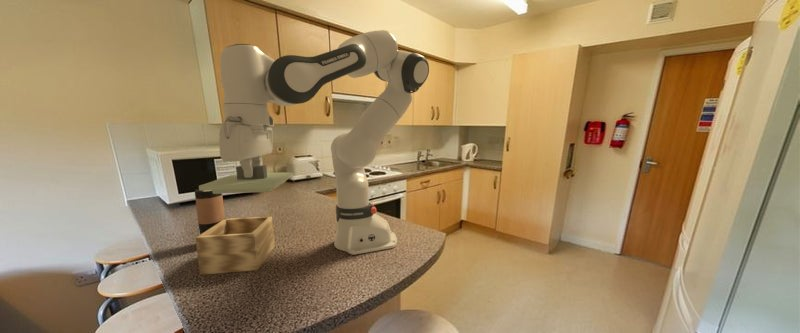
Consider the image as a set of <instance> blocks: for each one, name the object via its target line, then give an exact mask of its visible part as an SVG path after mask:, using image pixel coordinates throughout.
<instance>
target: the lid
mask: <svg viewBox="0 0 800 333" xmlns="http://www.w3.org/2000/svg"><path fill="white" fill-rule="evenodd" d="M252 168H253V169H254V173H255V175H254V176H253V177H251V178H246V177H244V171H243V169H242V167H241V165H238V166H235V170H236V173H232V174H230V175H227V176H224V177H221V178H219V179H215V180H212V181H210V182H207V183H204V184H200V185H198V189H199V191H201V190H212V192H213V194H222V195H223V194H242V193H243V194H246V193H269V192H272V191H274V190H275V189H277V188H278V187H280V186H281V185H283V184H284V183H286V181H288V180H289V179H291V178H292V177H294V172H293V171H291V172H289V171H288V172H286V171H285V172H268V170H267V169H268V168H267V164H266V165H265V164H261V165H252Z"/></svg>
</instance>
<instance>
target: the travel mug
mask: <svg viewBox="0 0 800 333" xmlns="http://www.w3.org/2000/svg"><path fill="white" fill-rule="evenodd" d="M194 196H195V206H196V207H195V208H196V215H197V224H198V229H199V235H201V234H202V233H204V232H205V231H207V230H208V229H210V228H211V227H213V226H214V225H216V224H218V223H219V222H221V221H222V220H224V219H226V214H225V207H224V198H223V194H213V192H212V190H201V191H199V188H198V189H196V190H194Z"/></svg>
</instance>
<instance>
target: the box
mask: <svg viewBox="0 0 800 333" xmlns="http://www.w3.org/2000/svg"><path fill="white" fill-rule="evenodd" d="M273 221H274V219H273V215H272V216H256V217H255V216H254V217H239V218H237V217H236V218H235V217H234V218H225V219H224V220H222V221H221V222H219V223H218V224H216V225H214V226H213V227H211V228H210V229H208V230H207V231H205V232H204V233H202V234H201V235H200V234H199V235H197V236H196V237H195V238H194V239H195V246H196V253H197V259H198V260H197V261H198V268H199V275H200V276H204V275H215V274H216V275H217V274H227V273H237V272H249V271H258V270H259V269H260V267H261V266H262V265H263V263H265V261H266V259H267V258H268V256H269V255H270V254H271V253H272V251H273V249H274V248H275V247H276V246H275V245H276V243H275V233H274V232H275V231H274V222H273Z"/></svg>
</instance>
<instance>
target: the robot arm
mask: <svg viewBox="0 0 800 333" xmlns="http://www.w3.org/2000/svg"><path fill="white" fill-rule="evenodd" d="M398 48H399V46H398V41H397V40H396V37H395V36H394V35H393V33H391V32H390V31H388V30H385V29H383V30H382V29H381V30H373V31H372V30H370V31H367V32H364V33H363V32H362V33H360V34H357V35H355V36H351V37H350V38H348V39H346V40H344V41H343V42H342V43H340V44H339V46H338V47H337V48H336V49H331V50H330V51H327V52H323V53H320V54H316V55H315V56H302V55H295V54H287V55H282V56H280V57H279V58H277V59H274V58H272V57H270V56H268V54H266V53H264V52H263V51H262V50H261V49H260V48H259V46H257V45H256V46H255V45H253V44H250V43H235V44H230V45H228V46H226V47H224V49H222V51H221V53H220V58H219V59H220V60H219V62H220V63H219V70H220V73H219V74H220V84H221V87H222V89H223V93H224V98H223V114H224V121H223V122H222V125H221V127H220V128H219V133H218V134H219V135H218V136H219V140H218V141H219V142H218V143H219V146H218V147H219V157H220V159H221V160H222V161H223V162H239V166H241V167H242V169H243V171H244V177H246V178H251V177H253V176H254V175H255V173H254V169H253V168H252V165H262V159H263V157H262V156H267V155H270V154H272V153H273V149H274V134H273V132H274V131H273V128H272V127H274V126H275V121H274V120H275V119H274V118H273V116H271V115H270V113H269V108H268V104H273V105H277V106H281V107H291V106H294V105H298V104H299V105H300V104H305V103H307V102H309V101H310V100H312V99H313V98H314V97H315V96H316V94H318V92H319V90H321V88H322V87H323V86H324V85H326V84H329V83H330V82H333V81H336V80H337V79H340V78H342V77H344V76H348V77H350V78H353V79H355V78H361V77H366V76H368V75H371V74H373V73H374V75H375V77H377V78H378V79H379V80H381V81H383V82H387V84H386V87H385V89H384V90H383V92H381V93H380V94H379V95H378V96H377V97H376V98H375V99H374V101H372V102H371V104H370V105H369V106H368V107H367V108H366V109H365V110H364V111H363V112H362V113H361V115H360V117H359V119H358V120H357V122H356V123H355V125H354V126H353V127H352V129H351V130H350V131H349V132H347V133H342V134H341V133H340V134H339V135H337V136H336V137H335V138H334V139H333V140H332V142H331V145H330V151H331V159H332V166H333V173H334V177H335V178H334V179H335V184H336V185H335V187H336V206H335V218H336V223H337V224H336V233H335V238H334V242H333V244H334V245H333V246H334V247H335V248H336V249H338V250H339V251H343V252H346V253H347V254H348V255H349V254H350V255H352V256H353V255H361V254H365V253H372V252H377V251H382V250H389V249H393V248H395V247H397V245H398V238H397V235H396V233H395V232H393V231H392V230H391V227H390V224H389V223H388V221H387V220H386V219H385V218H383V217H382V216H380V215H379V214H377V207H376V206H375V205H374V203H373V202H372V203H371V202H370V196H369V195H370V194H369V180H368V177H367V174H366V171H365V167H367V166H369V165H370V164H371V163H373V161H374V159H375V157H376V153H377V151H378V149H379V147H380V146H381V143H382V142H383V141H384V138H385V137H386V136H387V134H388V133H389V132H390V131H391V130H392V129H393V127H394V126H395V125H396V124H398V122H399V121H400V119H401V118H402V117H403V116H404V114H405V113H406V112H407V110H408V109H409V107H410V105H411V103H412V100H413V94H415V93H416V92H418V90H419V89H420V88H421V87H422V86H423V85H424V84H425V82H426V80H427V79H428V78H429V73H430V64H429V61H428V59H427V58H426V57H425V56H424V55H422V54H419V53H417V52H410V51H407V50H399V49H398Z"/></svg>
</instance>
